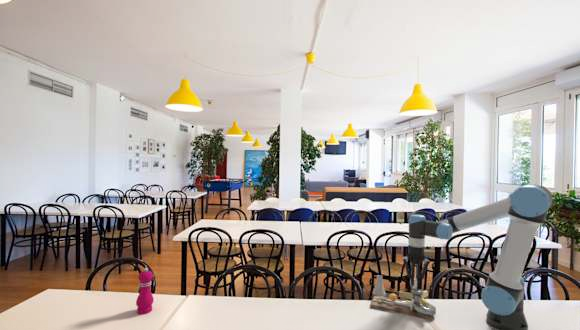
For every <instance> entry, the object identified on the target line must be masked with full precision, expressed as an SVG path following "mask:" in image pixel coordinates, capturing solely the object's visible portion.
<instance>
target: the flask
mask: <svg viewBox="0 0 580 330" xmlns="http://www.w3.org/2000/svg"><path fill="white" fill-rule="evenodd" d="M371 292H372V295H373V296H374V295H378V296H383V297H386V296H387V293H386V290H385V286H384V284H383V275H382V274H381V275H379V274H377V275H376V283H375V285H374V287H373V290H372V291H371Z"/></svg>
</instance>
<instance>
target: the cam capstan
mask: <svg viewBox="0 0 580 330" xmlns="http://www.w3.org/2000/svg"><path fill="white" fill-rule="evenodd" d="M427 297H429V291H428V290H426V289H425V290H422V289H420V288H417V289H413V288H412V289H411V292H407V291H402V290H399V291H398V298H402V299H408V300H411V299H412V302H413V310H414V311H415V312H416V313H418V314H421V315H424V316H431V317H433V316H435V315H437V308H436V306H434V305H433V304H431V303H430V302H429V301H428V300H426V299H425V298H427Z"/></svg>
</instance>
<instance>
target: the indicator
mask: <svg viewBox="0 0 580 330" xmlns="http://www.w3.org/2000/svg"><path fill="white" fill-rule="evenodd" d="M388 297H389V298H390V300H392V303H394V304H397V305H402V306H407V307H410V310H412V302H413V300H412V299H410V302H411V303H406V302H400V301H395V300H396V299H398V298H397V294H396V293H390V294H389V295H388Z"/></svg>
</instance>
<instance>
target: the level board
mask: <svg viewBox="0 0 580 330" xmlns="http://www.w3.org/2000/svg"><path fill="white" fill-rule="evenodd" d="M395 301H400V302H402V301H406V303H411V301H408V300H404V299H398V298H397V299H396V300H395ZM370 308H372V309H378V310H382V311H386V312H387V311H388V312H392V313H397V314H401V315H404V316H405V315H406V316H412V317H415V318H421V319H424V320H430V321H432V316H424V315H421V314H418V313H416V312H415V311H414V310H413V301H412V310H410V307H407V306H402V305H397V304H394V303H392V300H390V298H389V296H387V297H386V296H385V297H383V296H378V295H374V294H373V297H372V300H371V303H370Z"/></svg>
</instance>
